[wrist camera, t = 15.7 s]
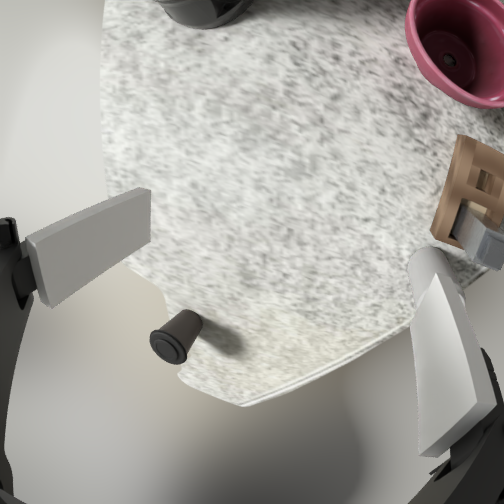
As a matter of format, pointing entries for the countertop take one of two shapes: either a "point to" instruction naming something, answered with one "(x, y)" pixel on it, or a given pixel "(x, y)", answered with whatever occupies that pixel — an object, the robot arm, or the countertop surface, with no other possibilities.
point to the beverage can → (429, 272)
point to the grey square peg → (479, 237)
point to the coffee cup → (176, 337)
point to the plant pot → (460, 48)
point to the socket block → (470, 187)
